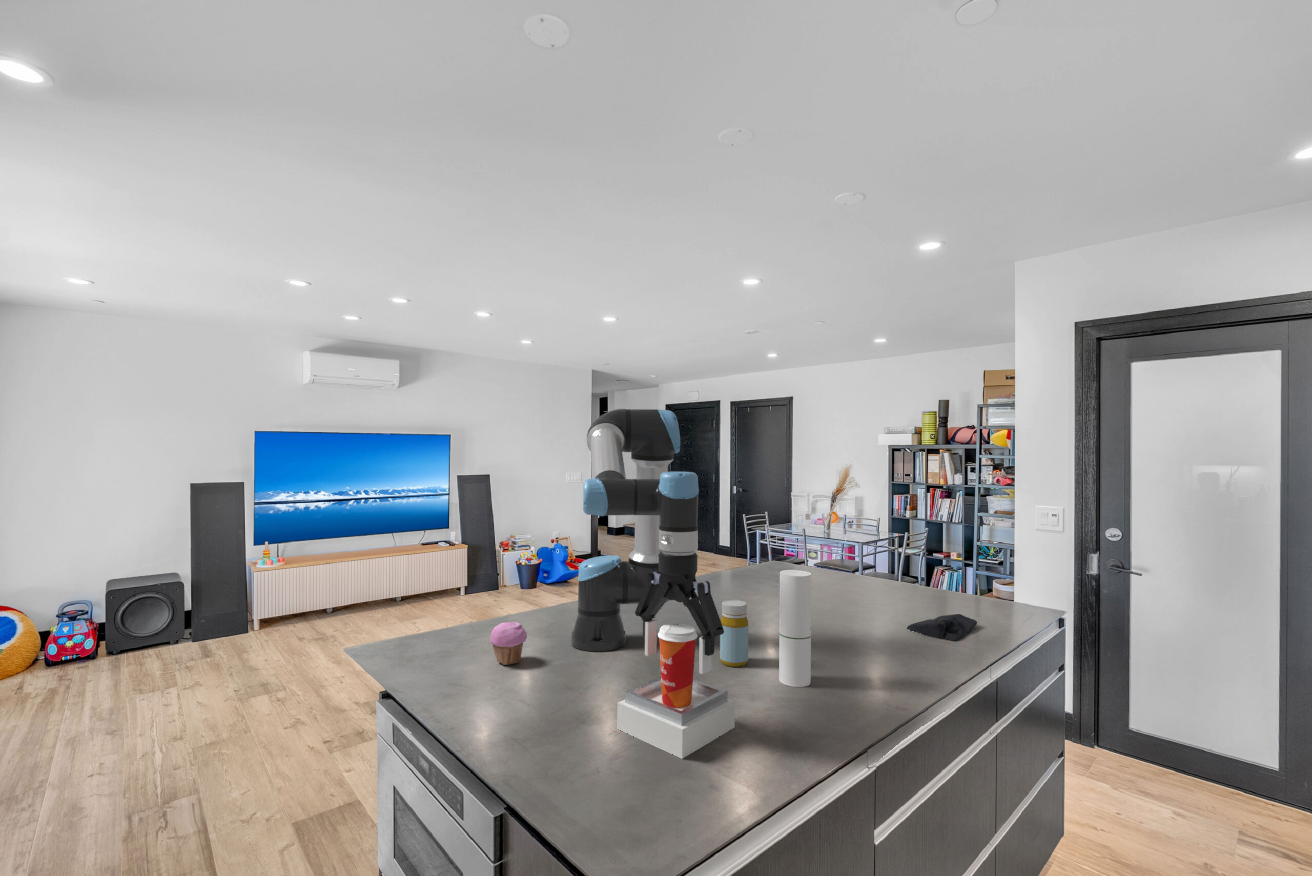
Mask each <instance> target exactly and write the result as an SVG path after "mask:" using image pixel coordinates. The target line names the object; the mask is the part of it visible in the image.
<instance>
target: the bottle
mask: <svg viewBox="0 0 1312 876" xmlns="http://www.w3.org/2000/svg"><path fill="white" fill-rule="evenodd" d="M721 611H722V612H721V618H720V621H721V623H722V626H723V629H724V633H723V634H722V635H719V660H720V662H721V664H722V665H724V666H726V667H730V668H741V667H745V666H746V665H747V663H749V620H748V616H747V614H748V613H747V611H748V604H747V602H746V601H743V600H738V599H729V600H728V599H727V600H724V601H722V603H721Z"/></svg>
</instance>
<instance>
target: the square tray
mask: <svg viewBox="0 0 1312 876" xmlns="http://www.w3.org/2000/svg"><path fill="white" fill-rule="evenodd" d="M728 694H729V692H728V690H726V689H724V688H720V687H717V686H714V685H712V684H708V683H706V682H703V681H700V680H696V679H695V678H693V687H692V699H691V704H690V705H689V706H687V707H684V708H672V707H670V706H667V705H665V704H663V702H662V688H661V676H660V677H658V678H655V679H653V680H649V681H648V682H645V683H643V684H640V685H638V686H636V687H634V688H631V689H628V690H627V691H624V699H623V700H621V701H618V702H617V705H616V706H617V710H616V711H617V712H616V713H617V715H616V724H617V725H616V729H617V730H618V729H619V730H618V731H620V730H621V731H620V732H622V731H623V733H625V734H627V733H628V734H627V735H628V736H631V737H633V736H634V738H635V739H637V740H640V741H641V742H645V743H647V744H649V745H651V746H652V747H654V748H655V747H656V748H657V749H659V750H662V751H664V752H666V753H668V754H671V755H672V754H673V756H675V757H677V758H680V759H681V760H683V759H685V758H687V757H688V756H690V755H691V754H693V753H695V752H696V751H698V750H700V749H701V748H703V747H705V746H706V745H707V744H710V743H712V742H713V741H714V740H716V739H717V738H718V739H719V736H720V737H721V736H723V735H725V734H726V733H728V732H729V730H730V731H731V730H733V729H734V728H736V726H735V725H736V716H735V715H736V701H735V700H733V699H730V698H729V697H728Z"/></svg>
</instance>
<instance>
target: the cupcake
mask: <svg viewBox="0 0 1312 876" xmlns="http://www.w3.org/2000/svg"><path fill="white" fill-rule="evenodd" d="M527 636H528V633H527V631H526V630H525V628H524V627H523V625H522V624H521V623H520V622H517V621H515V622H514V621H508V622H501V623H499V624H498V625H496V626H494V628H493V629H492V630H491V633H490V638H489V639H490V640H489V641H490V644H492V647H493V653H494V655H495V658H496V661H497V662H498V663H500V664H502V665H503V666H509V665H513V664H517V663H520V660H521V658H522V653H523V647H524V643H525V642H526V641H527Z"/></svg>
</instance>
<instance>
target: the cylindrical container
mask: <svg viewBox="0 0 1312 876" xmlns="http://www.w3.org/2000/svg"><path fill="white" fill-rule="evenodd" d="M778 626H779V629H778V631H779V635H778V636H779V639H778V640H779V642H778V643H779V645H778V646H779V647H778V650H779V652H778V653H779V655H778V657H779V658H778V659H779V660H778V661H779V662H778V663H779V664H778V665H779V666H778V680H779V682H780V683H781V684H783V685H786V686H789V687H795V688H804V687H808V686H810V685H811V682H812V681H811V678H812V669H811V668H812V667H811V663H812V662H811V661H812V655H811V654H812V649H811V648H812V647H811V646H812V573H811V572H809V571H805V570H799V569H798V570H797V569H785V570H780V571H779V625H778Z"/></svg>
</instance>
